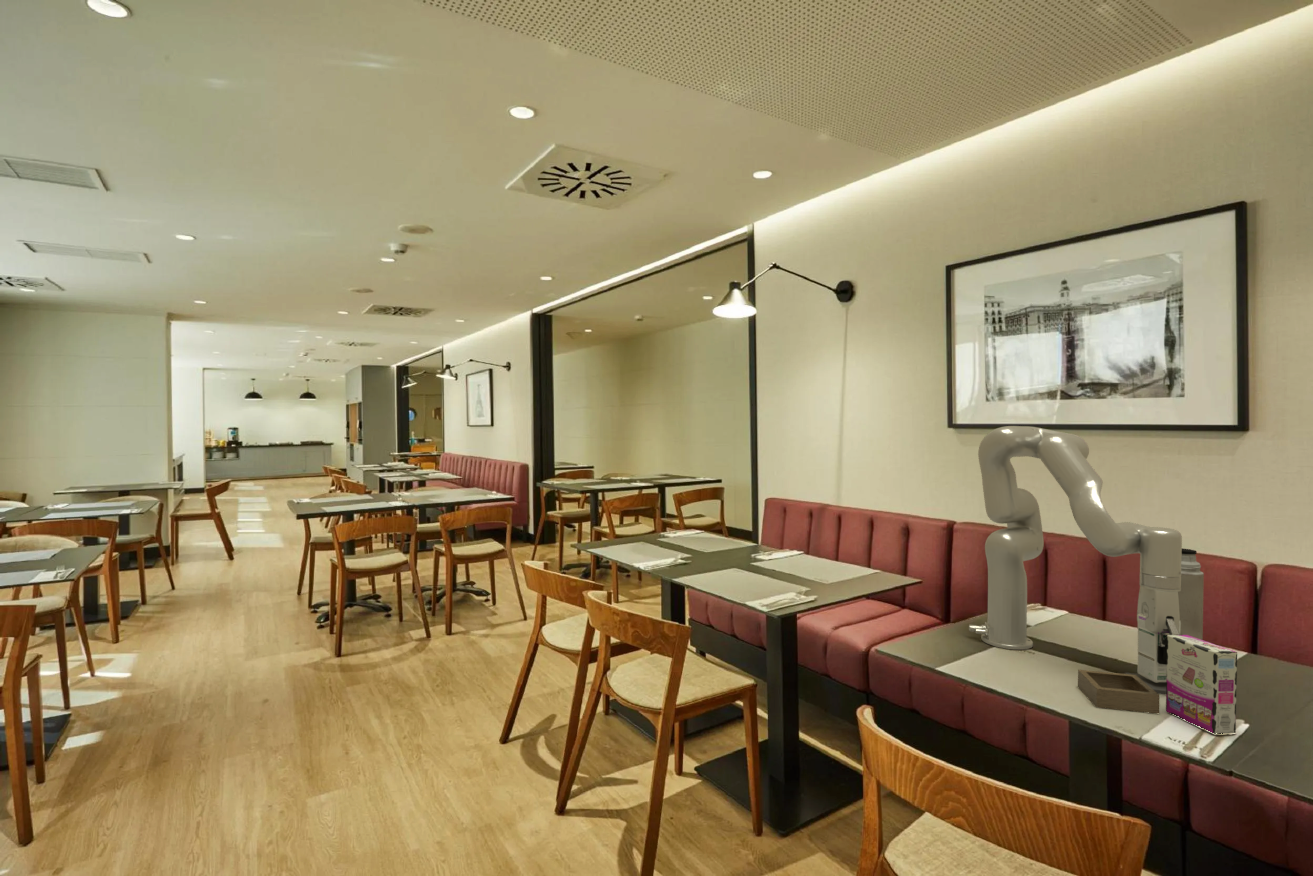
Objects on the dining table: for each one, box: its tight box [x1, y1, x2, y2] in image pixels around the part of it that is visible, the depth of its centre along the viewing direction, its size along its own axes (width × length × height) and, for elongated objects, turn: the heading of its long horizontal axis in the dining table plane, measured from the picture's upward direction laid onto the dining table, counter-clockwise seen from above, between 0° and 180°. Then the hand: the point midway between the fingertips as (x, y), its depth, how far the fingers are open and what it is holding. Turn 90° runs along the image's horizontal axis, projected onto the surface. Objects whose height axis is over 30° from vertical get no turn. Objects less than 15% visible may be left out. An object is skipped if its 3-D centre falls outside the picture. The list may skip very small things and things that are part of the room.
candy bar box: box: [1165, 635, 1238, 734], centre depth 131 cm, size 11×5×16 cm, turn 5°
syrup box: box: [1137, 614, 1181, 683], centre depth 150 cm, size 6×6×14 cm
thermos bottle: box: [1178, 548, 1205, 640], centre depth 170 cm, size 8×8×28 cm
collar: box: [1077, 669, 1161, 714], centre depth 142 cm, size 11×11×4 cm
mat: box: [1124, 672, 1166, 695], centre depth 150 cm, size 10×10×1 cm
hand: (1158, 657), depth 150 cm, fingers closed on syrup box, 6 cm apart
